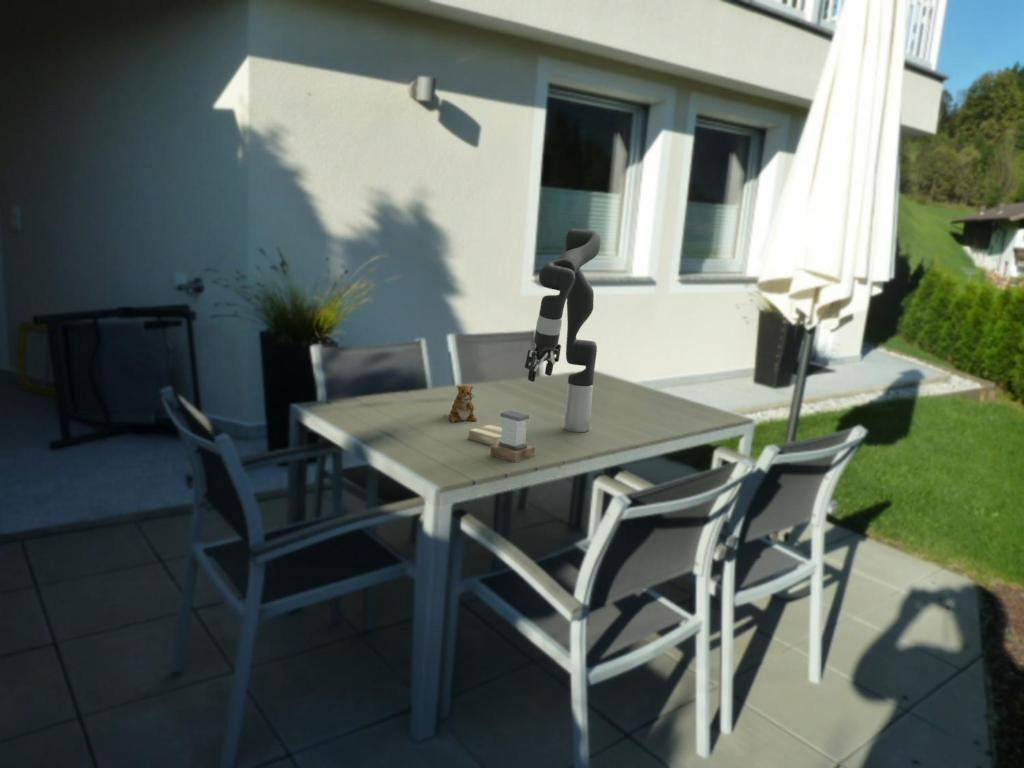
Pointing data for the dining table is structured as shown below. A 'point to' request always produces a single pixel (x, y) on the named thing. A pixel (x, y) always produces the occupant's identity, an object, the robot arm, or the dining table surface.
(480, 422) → the dining table surface
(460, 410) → the stuffed squirrel
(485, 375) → the dining table surface
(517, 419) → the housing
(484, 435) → the cream slab
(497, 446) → the walnut stand
